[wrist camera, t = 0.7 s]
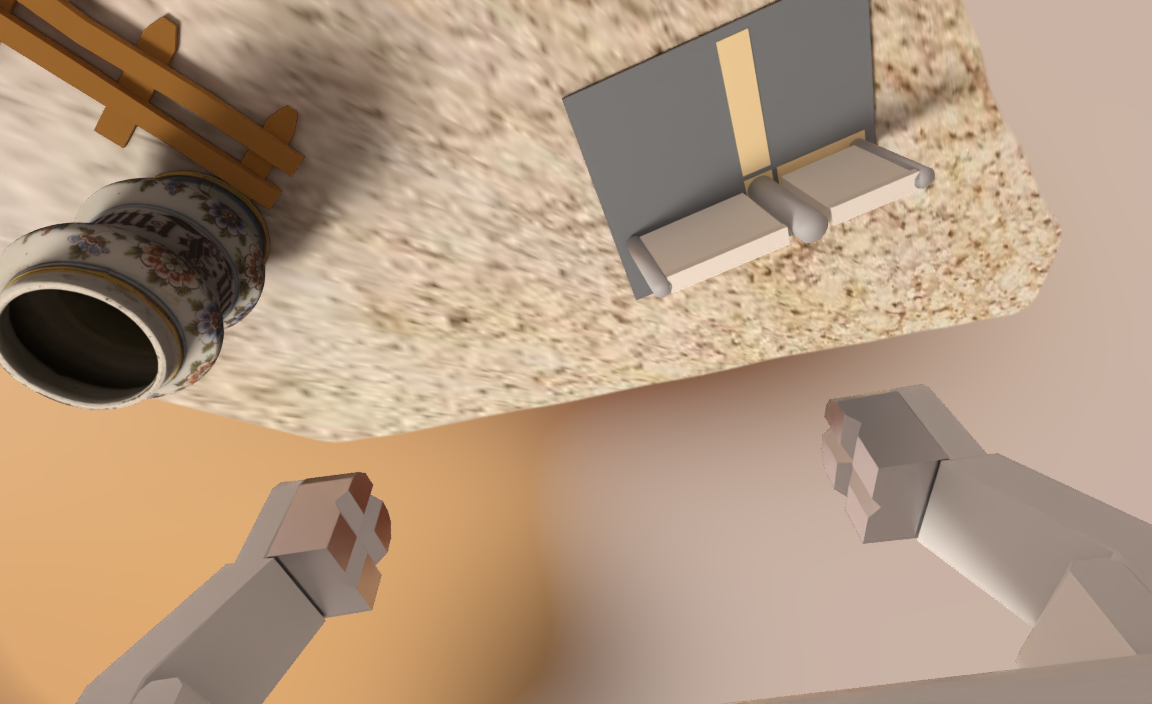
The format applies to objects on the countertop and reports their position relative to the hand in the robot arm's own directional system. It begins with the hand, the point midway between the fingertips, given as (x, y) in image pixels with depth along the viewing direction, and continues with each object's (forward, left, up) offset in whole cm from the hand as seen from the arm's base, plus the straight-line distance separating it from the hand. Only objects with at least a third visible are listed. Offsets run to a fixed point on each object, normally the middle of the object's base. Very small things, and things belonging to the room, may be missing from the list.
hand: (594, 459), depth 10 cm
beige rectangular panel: (+17, +11, -40) cm, 45 cm away
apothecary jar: (+1, -26, -41) cm, 49 cm away
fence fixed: (+17, +23, -41) cm, 50 cm away
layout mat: (+13, +17, -41) cm, 46 cm away
